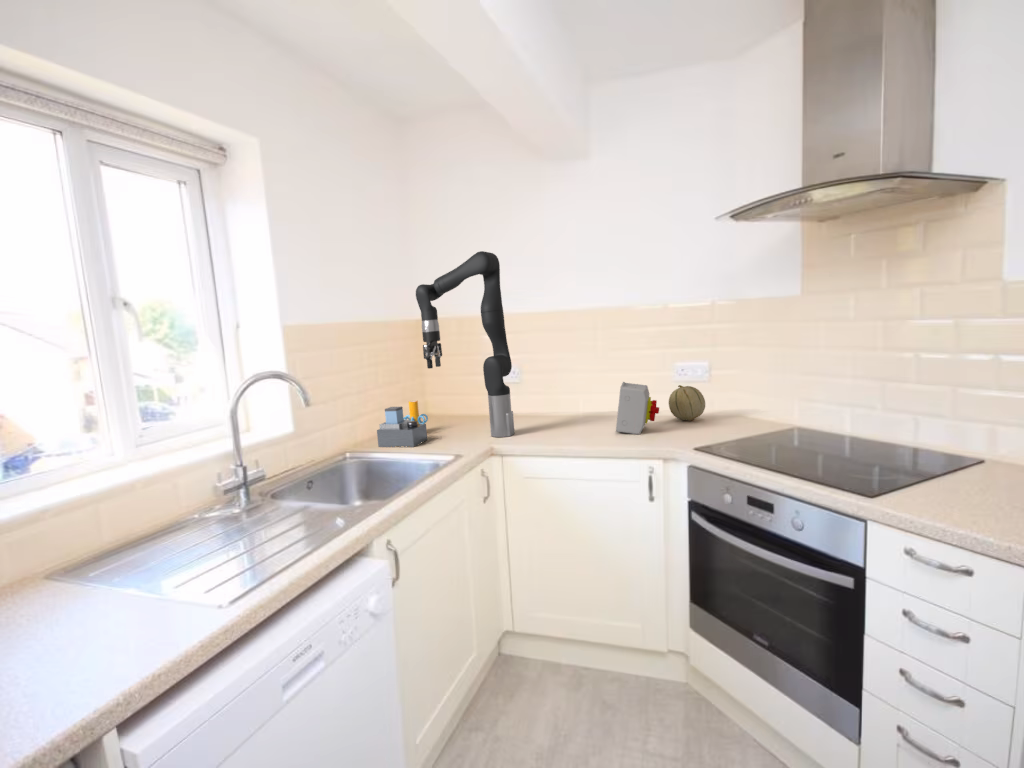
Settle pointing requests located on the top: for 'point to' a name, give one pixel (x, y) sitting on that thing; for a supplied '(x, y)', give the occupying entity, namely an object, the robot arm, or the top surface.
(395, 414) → the grey lidded box
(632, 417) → the electrical switch box
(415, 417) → the cylinder
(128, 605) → the top surface
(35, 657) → the top surface
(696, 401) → the cantaloupe
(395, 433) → the grey boxy piece
